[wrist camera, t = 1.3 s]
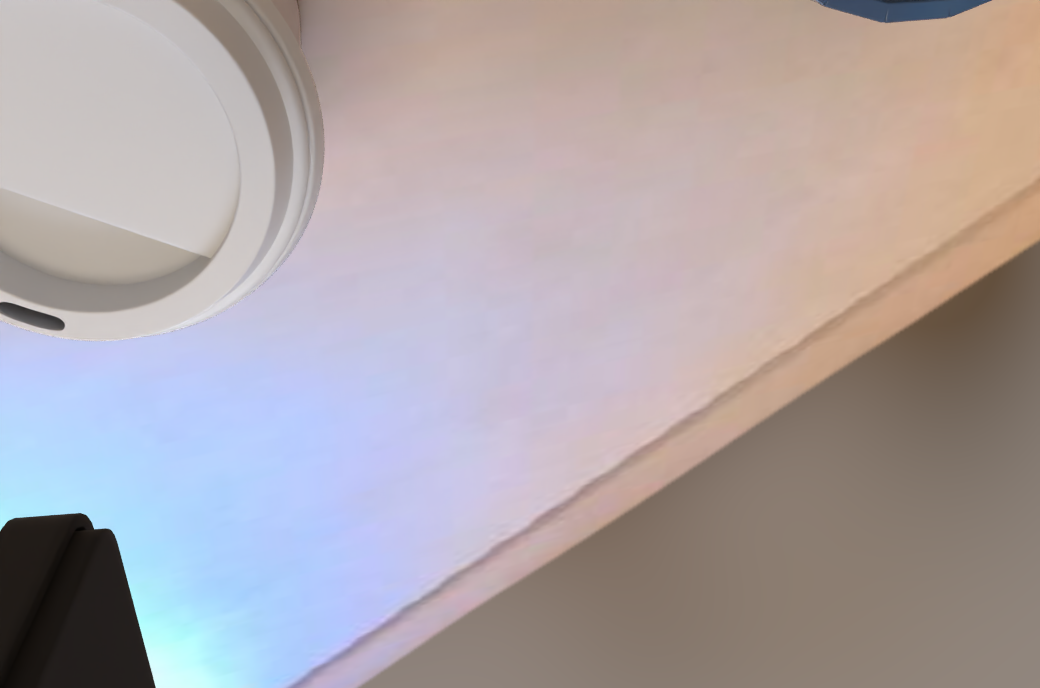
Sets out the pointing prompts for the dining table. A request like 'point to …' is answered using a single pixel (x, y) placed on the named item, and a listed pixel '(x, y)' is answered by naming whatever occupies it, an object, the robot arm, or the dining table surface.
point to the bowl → (902, 8)
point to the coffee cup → (149, 160)
